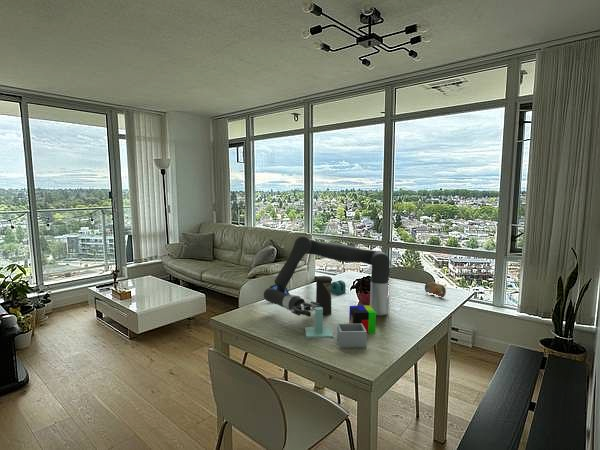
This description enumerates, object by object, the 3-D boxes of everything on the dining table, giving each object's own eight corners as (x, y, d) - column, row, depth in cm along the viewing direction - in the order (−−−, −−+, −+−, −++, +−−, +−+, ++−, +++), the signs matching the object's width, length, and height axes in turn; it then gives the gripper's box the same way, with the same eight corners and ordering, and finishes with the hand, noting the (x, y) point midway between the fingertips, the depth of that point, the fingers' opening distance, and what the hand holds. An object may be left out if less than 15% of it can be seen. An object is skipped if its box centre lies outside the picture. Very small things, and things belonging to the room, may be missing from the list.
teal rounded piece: (345, 293, 221) (345, 281, 220) (338, 295, 217) (338, 283, 216) (325, 287, 235) (325, 276, 234) (318, 289, 230) (318, 277, 229)
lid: (330, 329, 163) (330, 304, 162) (333, 337, 153) (333, 312, 152) (305, 329, 163) (305, 304, 161) (306, 338, 153) (306, 312, 152)
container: (330, 316, 179) (331, 279, 177) (313, 315, 181) (314, 278, 179) (332, 311, 187) (333, 275, 185) (316, 309, 189) (316, 274, 187)
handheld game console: (287, 305, 196) (287, 290, 195) (268, 302, 203) (268, 286, 202) (301, 298, 210) (301, 283, 209) (283, 295, 216) (283, 280, 215)
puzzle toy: (349, 325, 167) (349, 305, 166) (369, 325, 168) (369, 305, 167) (354, 334, 157) (354, 313, 156) (375, 333, 158) (375, 312, 157)
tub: (361, 338, 152) (361, 323, 151) (366, 347, 143) (366, 331, 143) (337, 338, 152) (337, 323, 151) (340, 348, 143) (340, 332, 142)
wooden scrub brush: (424, 293, 222) (424, 280, 221) (427, 292, 223) (428, 280, 222) (442, 299, 208) (443, 286, 208) (446, 299, 210) (447, 285, 209)
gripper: (282, 299, 164) (305, 307, 153) (304, 293, 174) (327, 301, 162) (282, 314, 165) (305, 324, 153) (304, 307, 175) (327, 316, 163)
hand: (316, 312), depth 158 cm, fingers open, 8 cm apart
